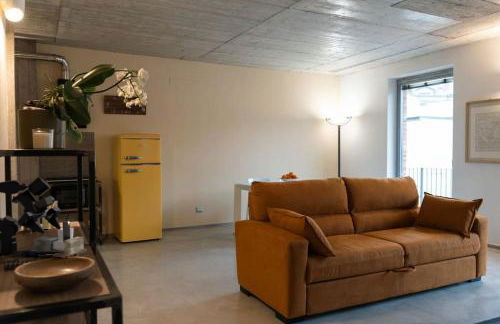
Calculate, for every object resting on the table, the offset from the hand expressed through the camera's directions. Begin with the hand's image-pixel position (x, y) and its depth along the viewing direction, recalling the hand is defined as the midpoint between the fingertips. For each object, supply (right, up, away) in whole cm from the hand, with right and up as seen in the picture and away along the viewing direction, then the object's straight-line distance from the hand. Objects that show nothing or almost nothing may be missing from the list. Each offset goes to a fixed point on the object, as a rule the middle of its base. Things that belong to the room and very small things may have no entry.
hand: (52, 230), depth 170 cm
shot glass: (-3, -9, +20) cm, 22 cm away
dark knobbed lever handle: (+4, -7, 0) cm, 8 cm away
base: (+1, -9, 0) cm, 10 cm away
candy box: (-29, -9, +59) cm, 66 cm away
